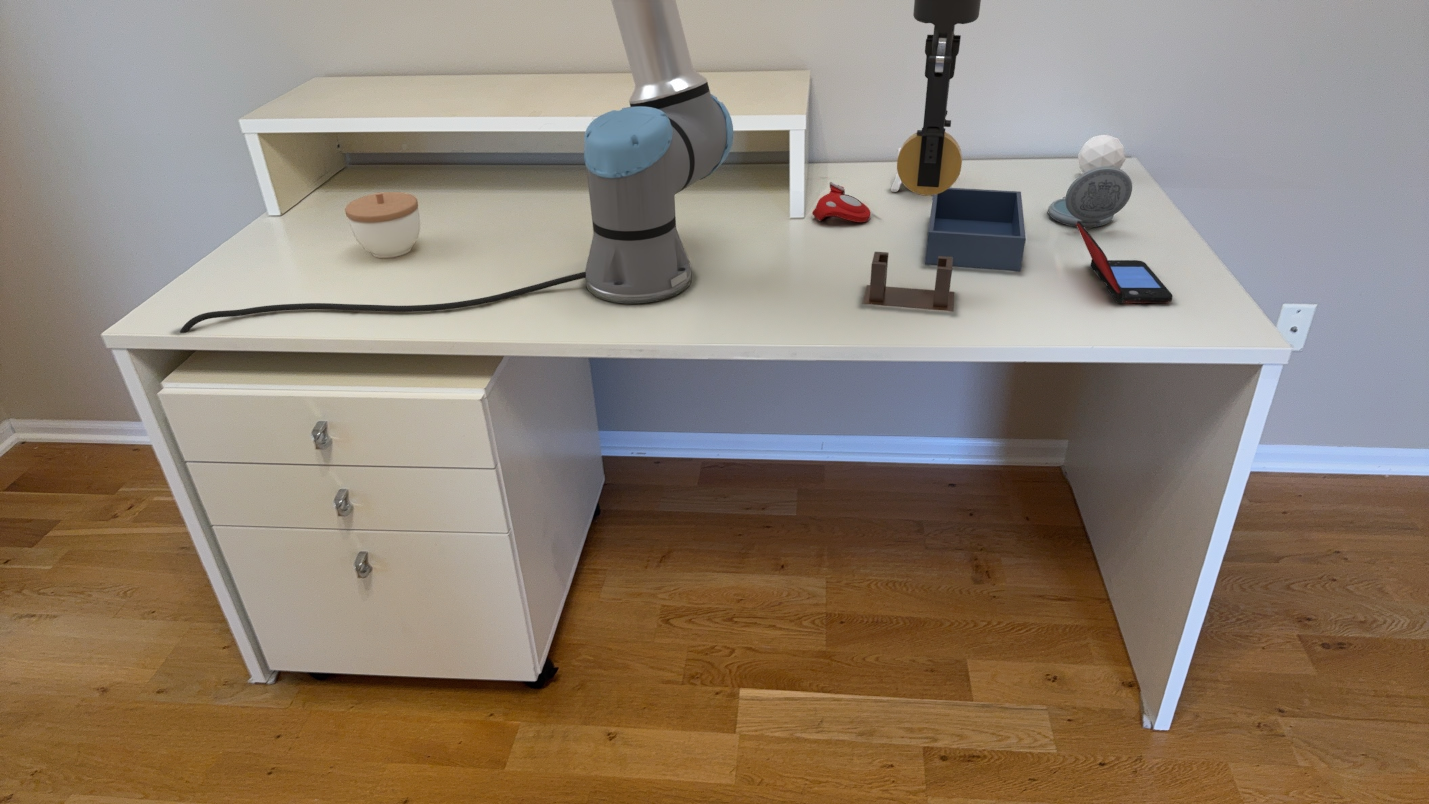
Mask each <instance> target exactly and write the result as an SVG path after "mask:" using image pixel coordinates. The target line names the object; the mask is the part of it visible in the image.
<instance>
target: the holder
mask: <svg viewBox="0 0 1429 804" xmlns="http://www.w3.org/2000/svg"><path fill="white" fill-rule="evenodd" d="M889 254H890V253H889V252H888V251H887V252H886V251H874V252H873V257H872V260H871V267H870V268H871V269H870V280H869V284H866V287H865V291H864V295H863V299H862V303H861V304H862V305H871V306H883V307H892V308H893V307H896V308H907V309H917V310H918V309H919V310H928V311H929V310H931V311H940V312H941V311H942V312H943V311H944V312H954V308H955V291H950V290H951V284H952V283H951V282H952V273H953V266H952V265H953V257H945V256H938V265H936V273H935V274H936V275H935V283H934V289H922V288H909V287H897V286H887V278H888V267H889V266H888V265H889Z"/></svg>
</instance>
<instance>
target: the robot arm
mask: <svg viewBox="0 0 1429 804" xmlns="http://www.w3.org/2000/svg"><path fill="white" fill-rule="evenodd" d="M610 1H611V5H612V8H613V13H614V15H615V19H616V22H617V26H618V29H619V33H620V36H621V40H622V43H623V47H624V51H625V54H626V58H627V61H628V64H629V69H630V71H631V76H632V79H633V82H634V85H635V86H634V90H633V92H632V94H631V95H630V97H629V99H628V103H629V107H628V106H627V107H622V108H621V109H620V110H619V109H618V110H616V109H614V110H610V111H607V112H604V113H603V114H600V115H598V116H597V117H596V118H594V119H593V120H591V122H590V123H589V125H588V126H587V127H586V129H585V132H584V140H583V141H584V151H583V152H584V153H583V160H584V164H585V168H586V177H587V187H588V194H589V204H590V214H591V222H592V233H593V234H592V239H591V243H590V246H589V247H590V248H589V252H588V256H587V260H586V265H585V271H582V272H577V273H573V274H569V275H565V276H562V277H557V278H554V279H550V280H547V281H544V282H540V283H537V284H533V285H528V286H525V287H521V288H517V289H514V290H511V291H506V292H502V293H498V294H493V295H489V296H484V297H479V298H473V299H468V300H467V299H466V300H461V301H453V302H445V303H432V304H414V305H412V304H411V305H393V304H391V305H389V304H388V305H387V304H362V303H361V304H354V303H353V304H352V303H333V302H331V303H329V302H328V303H327V302H307V303H305V302H304V303H303V302H302V303H284V304H283V303H282V304H271V305H270V304H269V305H261V306H253V307H248V308H239V309H230V310H229V309H228V310H217V311H208V312H204V313H200V314H198V315H196V316H194V317H192V318H190V319H189V320H188V321H187V322H186V323H185V324H184V325H183V326H182V327H181V329H180V331H179V333H180V334H185V333H188V332H190V330H191V329H192V328H193V327H194V326H196V325H197V324H199V323H201V322H203V321H206V320H211V319H217V318H219V319H220V318H232V317H233V318H234V317H243V316H248V315H256V314H262V313H271V312H283V311H285V312H286V311H304V310H305V311H306V310H307V311H309V310H310V311H311V310H312V311H313V310H326V311H328V310H329V311H330V310H331V311H349V312H350V311H351V312H352V311H354V312H383V313H384V312H386V313H387V312H388V313H416V312H432V311H433V312H434V311H435V312H436V311H445V310H455V309H462V308H469V307H475V306H479V305H486V304H490V303H495V302H499V301H503V300H506V299H511V298H515V297H517V296H522V295H525V294H529V293H533V292H537V291H540V290H544V289H545V290H546V289H548V288H551V287H555V286H559V285H562V284H567V283H570V282H575V281H578V280H583V279H585V287H586V289H587V290H588V293H590V294H591V295H592V296H595V297H597V298H599V299H601V300H604V301H606V302H607V301H608V302H611V303H617V304H646V303H653V302H658V301H662V300H667V299H669V298H672V297H674V296H676V295H678V294H680V293H682V292H683V291H685V290H686V289H687V288H688V287H689V286H690V284H691V282H692V267H691V262H690V260H689V256H688V254H687V252H686V249H685V247H684V244H683V242H682V240H681V237H680V234H679V232H678V229H677V219H676V198H675V196H676V195H677V194H679V193H681V192H682V191H684V190H685V189H688V187H690V186H692V185H693V184H695V183H697V182H699V181H701V180H704V179H706V178H707V177H709V176H710V175H712V174H713V173H714V172H715V171H716V170H717V169H718V168H719V167H720V166H722V164H723V163H724V162H725V161H726V160H727V158H728V156H729V154H730V152H731V150H732V147H733V142H734V125H733V124H734V123H733V120H732V117H731V114H730V112H729V110H728V108H727V107H726V105H725V104H724V102H721V101H720V100H719V99H718V97H717V96H716V95H714V94H712V93H711V89H710V86H709V83H708V78H706V77H705V76H703V75H702V74H700V73H699V72H697V71H696V70H695V68H694V67H693V63H692V59H691V56H690V55H691V54H690V51H689V47H688V43H687V40H686V35H685V31H684V28H683V24H682V20H681V15H680V12H679V8H678V4H677V0H610ZM913 2H914V4H913V13H912V14H913V15H912V16H913V18H914V20H915V21H917V22H919V23H922V24H931V25H933V32H932V33H933V34H927V35H926V38H925V44H924V45H925V46H924V54H925V56H926V57H925V68H924V77H925V78H926V79H927V80H926V81H927V82H926V92H925V103H924V113H923V124H922V127H921V129H917V131H916V133H917V136H922V139H921V150H920V160H919V170H918V181H917V186H923V187H939V180H940V171H941V162H942V152H943V143H944V133H945V132H946V128H951V127H952V126H951V125H952V119H951V120H950V119H946V118H947V115H948V100H949V91H950V83H951V82H950V81H951V79H953V78H954V76H955V70H956V64H957V56H958V55H959V52H960V46H961V38H962V35H961V34H955V27H956V25H958V24H960V25H965V24H966V25H967V24H970V23H973V22H975V21H977V20H978V18H979V16H980V11H981V2H982V0H914V1H913Z"/></svg>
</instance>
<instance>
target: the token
mask: <svg viewBox="0 0 1429 804" xmlns="http://www.w3.org/2000/svg"><path fill="white" fill-rule="evenodd" d="M921 139H922V136H917V132H915V133H913V134H912V135H910V136H909V137H908V138H907V139H906V140H905V141H904V142H903V144H902V146H901V147H900V148H901V150H900V152H899V156H898V155H897V158H898V160H896V170H897V171H898V175H899V177H900V180H901V181H902V184H903V185H904V187H905V188H907V189H908V190H909V191H911V192H913V193H914V194H918V195H922V196H933V195H935V194H939V193H941V192H943V191H945V190H947V189H948V188H952V186H953V185H954V184H955V183H956V182H957V180H958V178H959V176H960V175H961V171H962V166H963V165H962V164H963V154H962V150H961V149H962V148H961V146H960V145H959V142H958V141H957V140H956V139H955V138H954V136H952V135H951V134H949V133H948V132H946V131H945V133H944V143H943V152H942V162H941V171H940V180H939V187H923V186H917V181H918V170H919V160H920V150H921Z"/></svg>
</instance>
